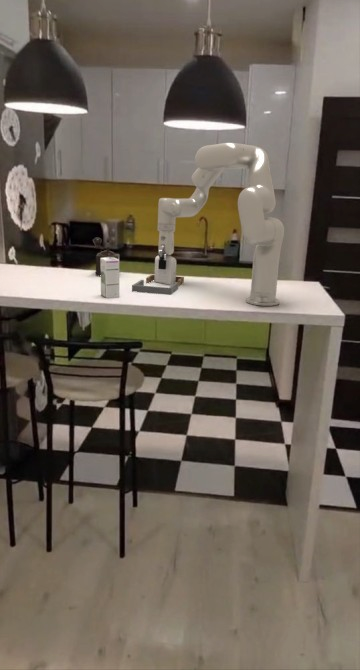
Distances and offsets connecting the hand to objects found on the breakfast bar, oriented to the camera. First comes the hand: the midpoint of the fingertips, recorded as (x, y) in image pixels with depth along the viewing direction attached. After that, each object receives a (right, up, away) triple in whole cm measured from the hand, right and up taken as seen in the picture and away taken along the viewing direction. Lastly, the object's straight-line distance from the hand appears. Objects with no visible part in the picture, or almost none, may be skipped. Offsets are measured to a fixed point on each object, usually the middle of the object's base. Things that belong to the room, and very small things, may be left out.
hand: (164, 267), depth 222 cm
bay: (-3, -11, -13) cm, 18 cm away
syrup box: (-20, -15, -29) cm, 38 cm away
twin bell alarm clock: (-28, -2, +15) cm, 32 cm away
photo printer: (0, -7, +2) cm, 7 cm away
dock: (0, -7, +2) cm, 7 cm away
